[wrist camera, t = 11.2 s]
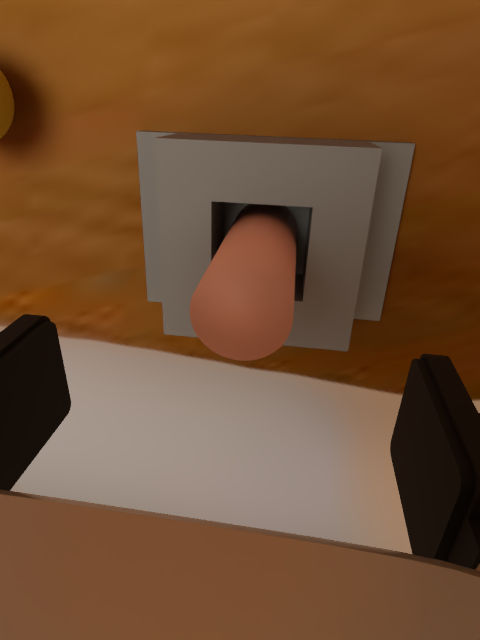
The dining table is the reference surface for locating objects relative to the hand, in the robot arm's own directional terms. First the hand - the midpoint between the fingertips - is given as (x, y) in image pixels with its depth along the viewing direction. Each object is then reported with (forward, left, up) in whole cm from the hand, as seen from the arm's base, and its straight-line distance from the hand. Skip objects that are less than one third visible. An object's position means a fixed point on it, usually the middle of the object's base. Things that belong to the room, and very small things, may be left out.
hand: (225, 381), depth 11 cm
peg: (0, +1, -17) cm, 17 cm away
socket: (0, +1, -18) cm, 18 cm away
